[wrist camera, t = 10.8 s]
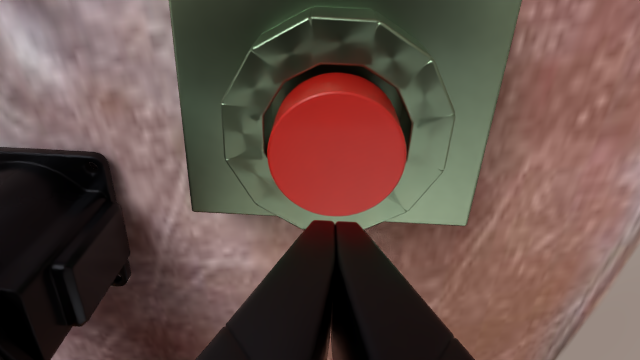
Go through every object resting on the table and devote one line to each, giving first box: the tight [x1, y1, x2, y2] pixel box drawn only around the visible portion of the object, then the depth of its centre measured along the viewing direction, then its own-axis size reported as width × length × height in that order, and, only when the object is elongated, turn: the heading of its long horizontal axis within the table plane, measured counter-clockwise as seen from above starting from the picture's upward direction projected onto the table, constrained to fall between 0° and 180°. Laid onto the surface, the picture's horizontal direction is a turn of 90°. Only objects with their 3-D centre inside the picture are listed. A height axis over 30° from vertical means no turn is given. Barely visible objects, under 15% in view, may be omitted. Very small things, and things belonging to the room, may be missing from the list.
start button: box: [267, 72, 407, 216], centre depth 12 cm, size 4×4×2 cm
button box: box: [169, 0, 522, 230], centre depth 14 cm, size 10×8×4 cm
